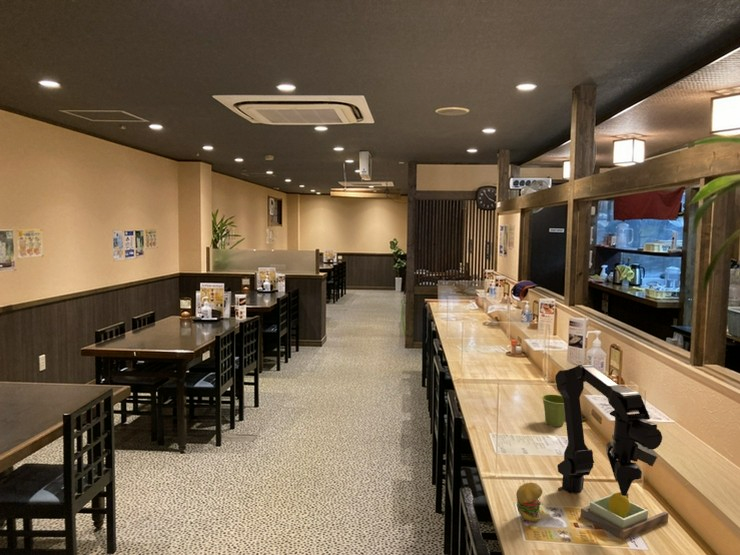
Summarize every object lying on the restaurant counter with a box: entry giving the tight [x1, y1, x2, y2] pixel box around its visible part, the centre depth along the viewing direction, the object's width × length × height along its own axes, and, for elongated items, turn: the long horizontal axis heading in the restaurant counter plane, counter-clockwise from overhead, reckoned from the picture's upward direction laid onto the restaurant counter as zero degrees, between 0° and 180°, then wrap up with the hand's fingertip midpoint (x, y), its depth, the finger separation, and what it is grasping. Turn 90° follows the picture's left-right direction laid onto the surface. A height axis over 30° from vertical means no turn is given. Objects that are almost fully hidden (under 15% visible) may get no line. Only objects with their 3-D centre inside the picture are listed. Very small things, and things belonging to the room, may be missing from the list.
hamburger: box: [515, 480, 543, 523], centre depth 163 cm, size 8×7×12 cm
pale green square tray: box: [589, 493, 649, 529], centre depth 162 cm, size 11×11×4 cm
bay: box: [580, 492, 670, 541], centre depth 163 cm, size 21×14×4 cm, turn 121°
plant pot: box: [541, 393, 566, 428], centre depth 241 cm, size 12×12×11 cm
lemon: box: [609, 491, 630, 518], centre depth 161 cm, size 6×6×8 cm
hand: (620, 488), depth 161 cm, fingers open, 9 cm apart
